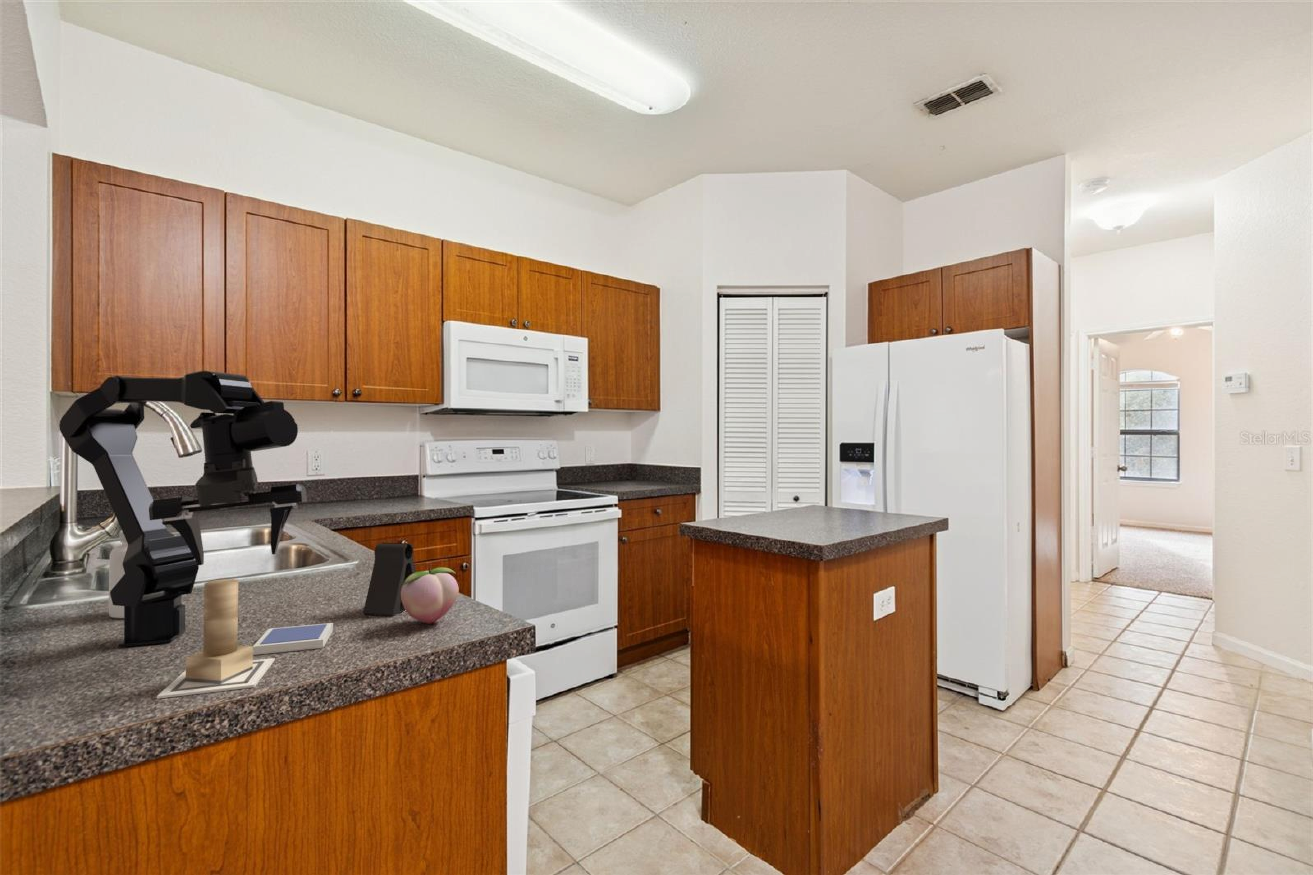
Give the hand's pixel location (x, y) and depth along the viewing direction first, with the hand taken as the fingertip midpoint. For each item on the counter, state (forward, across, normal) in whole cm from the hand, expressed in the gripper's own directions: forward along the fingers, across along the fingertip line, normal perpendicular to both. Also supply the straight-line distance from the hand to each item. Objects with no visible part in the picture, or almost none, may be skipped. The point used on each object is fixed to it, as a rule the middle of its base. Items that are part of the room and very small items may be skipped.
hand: (238, 559), depth 91 cm
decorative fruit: (+16, +25, +3) cm, 30 cm away
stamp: (+14, 0, -12) cm, 18 cm away
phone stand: (+14, +20, +15) cm, 29 cm away
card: (+14, 0, -12) cm, 19 cm away
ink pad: (+14, +6, +1) cm, 15 cm away
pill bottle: (+9, -22, +30) cm, 38 cm away
